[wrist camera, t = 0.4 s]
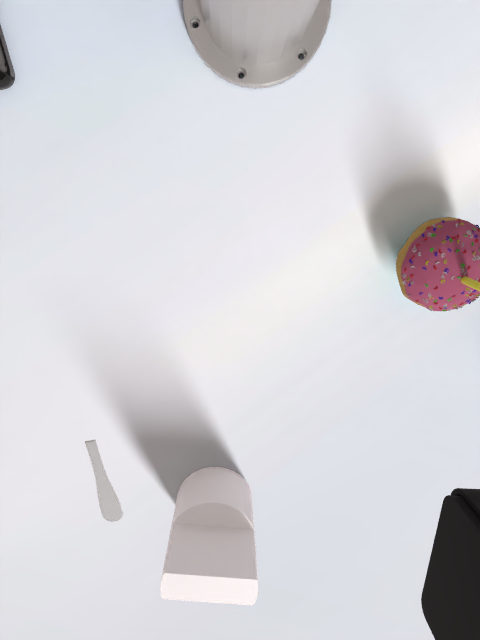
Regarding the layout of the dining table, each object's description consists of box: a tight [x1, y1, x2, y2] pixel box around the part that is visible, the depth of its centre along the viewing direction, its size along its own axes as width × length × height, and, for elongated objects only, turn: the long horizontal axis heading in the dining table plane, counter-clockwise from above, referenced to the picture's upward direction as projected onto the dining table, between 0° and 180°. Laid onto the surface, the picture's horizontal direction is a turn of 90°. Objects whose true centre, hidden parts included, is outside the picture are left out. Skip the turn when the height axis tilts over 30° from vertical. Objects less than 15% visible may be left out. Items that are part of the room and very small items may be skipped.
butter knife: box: [85, 440, 123, 522], centre depth 46 cm, size 1×24×3 cm
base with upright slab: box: [160, 467, 258, 605], centre depth 43 cm, size 9×9×12 cm
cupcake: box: [396, 217, 480, 311], centre depth 36 cm, size 9×8×12 cm
